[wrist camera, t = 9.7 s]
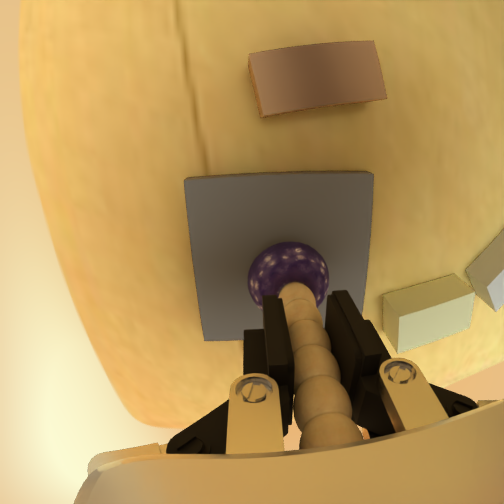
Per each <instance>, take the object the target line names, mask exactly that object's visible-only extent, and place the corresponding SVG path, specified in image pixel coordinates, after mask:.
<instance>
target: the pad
mask: <svg viewBox="0 0 504 504" xmlns="http://www.w3.org/2000/svg"><path fill="white" fill-rule="evenodd" d="M373 181H374V174H373V173H370V172H368V171H301V172H269V173H247V174H230V175H215V176H202V177H189V178H186V179H185V180H184V188H185V198H186V208H187V217H188V226H189V235H190V243H191V251H192V259H193V267H194V274H195V282H196V289H197V296H198V303H199V310H200V316H201V323H202V329H203V335H204V341H230V340H244V330H245V329H263V311H262V310H260V309H259V307H258V306H257V305H256V304H255V302H254V301H253V299H252V297H251V295H250V293H249V290H248V283H247V281H248V278H247V277H248V272H249V269H250V266H251V264H252V263H253V261H254V259H255V258H256V257H257V256H258V255H259V254H260V253H261V252H262V251H264V250H265V249H267V248H268V247H270V246H272V245H275V244H277V243H281V242H300V243H304V244H307V245H309V246H311V247H312V248H314V249H315V250H316V251H318V253H319V254H320V255H322V257H323V258H324V260H325V262H326V265H327V267H328V271H329V288H328V292H327V295H331V294H332V291H336V290H347V291H348V292H349V294H350V296H351V298H352V299H353V301H354V303H355V305H356V307H357V308H358V310H359V312H360V314H361V315H362V310H363V303H364V295H365V287H366V278H367V269H368V259H369V248H370V236H371V222H372V205H373ZM327 295H326V296H325V299H324V300H323V302H322V303H321V305H320V306H319V307H318V308H317V309H318V310H319V312H320V314H321V316H322V320H323V328H325V316H326V303H327Z"/></svg>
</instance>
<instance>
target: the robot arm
mask: <svg viewBox="0 0 504 504" xmlns="http://www.w3.org/2000/svg"><path fill="white" fill-rule="evenodd" d="M262 309H263V329H245V330H244V358H243V376H240V377H239V378H237V379H236V380H235V381H234V382H233V383H232V384H231V387H230V394H229V400H227V401H226V402H225V403H223V404H222V405H220V406H219V407H217V408H216V409H214V410H213V411H211V412H210V413H209V414H207V415H206V416H204V417H203V418H201V419H200V420H198V421H197V422H195V423H194V424H192V425H190V426H189V427H187V428H186V429H184V430H183V431H181V432H180V433H178V434H176V435H175V436H174V437H173V438H172V439H170V441H169V443H168V444H164V445H160V446H159V444H158V443H153V444H149V445H144V446H138V447H133V448H128V449H122V450H116V451H109V452H103V453H100V454H97V455H96V456H94V457H93V458H92V459H91V461H90V462H89V464H88V477H87V479H86V480H85V482H84V483H83V485H82V487H81V488H80V490H79V492H78V495H77V497H76V499H75V501H74V504H504V399H502V400H478V402H477V403H475V402H474V401H473V400H471V399H470V398H468V397H466V396H463V395H460V394H457V393H455V392H452V391H449V390H446V389H444V388H441V387H438V386H435V385H433V384H430V383H428V382H427V380H426V378H425V377H424V375H423V373H422V372H421V370H420V369H419V367H418V366H417V365H416V364H415V363H413V362H412V361H410V360H407V359H404V358H391V356H390V355H389V353H388V351H387V349H386V347H385V346H384V344H383V342H382V340H381V338H380V337H379V335H378V333H377V331H376V330H375V328H374V326H373V324H372V323H371V321H370V320H364V319H363V317H362V315H361V314H360V312H359V310H358V308H357V307H356V305H355V303H354V301H353V299H352V298H351V296H350V294H349V292H348V291H347V290H336V291H332V294H331V295H327V303H326V316H325V328H324V329H325V330H326V332H327V333H328V336H329V338H330V341H331V353H332V355H333V356H334V357H335V359H336V360H337V363H338V365H339V368H340V373H341V382H340V384H341V385H342V386H343V387H344V388H345V390H346V391H347V393H348V395H349V397H350V401H351V405H352V418H351V420H352V421H353V422H354V423H355V424H356V425H359V426H361V427H362V434H363V437H364V440H361V441H356V442H350V443H345V444H338V445H332V446H325V447H318V448H310V449H301V450H292V451H284V440H283V437H284V436H285V435H287V433H288V425H291V424H292V413H293V396H294V377H295V363H294V356H293V350H292V345H291V340H290V335H289V330H288V325H287V320H286V315H285V310H284V305H283V300H282V298H277V296H276V295H262Z"/></svg>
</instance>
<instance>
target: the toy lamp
mask: <svg viewBox="0 0 504 504" xmlns="http://www.w3.org/2000/svg"><path fill="white" fill-rule="evenodd" d="M247 278H248V281H247V283H248V290H249V293H250V295H251V297H252V299H253V301H254V302H255V304H256V305H257V306H258V307H259V309H260V310H262V311H263V309H262V295H276V296H277V298H282V300H283V305H284V310H285V315H286V320H287V325H288V330H289V335H290V340H291V345H292V350H293V356H294V363H295V377H294V395H295V397H294V403H293V411H294V418H295V421H296V423H297V426H298V428H299V429H300V431H301V432H302V435H301V438H300V444H299V450H301V449H310V448H318V447H325V446H332V445H338V444H345V443H350V442H356V441H361V440H364V439H363V436H362V433H361V431H360V430H359V428H358V427H357V425H356V424H355V423H354V422H353V421H352V420H351V418H352V405H351V401H350V397H349V395H348V393H347V391H346V390H345V388H344V387H343V386H342V385H341V384H340V382H341V373H340V368H339V365H338V363H337V360H336V359H335V357H334V356H333V355H332V353H331V341H330V338H329V336H328V333H327V332H326V330H325V329H324V328H323V320H322V316H321V314H320V312H319V310H318V309H317V308H318V307H319V306H320V305H321V303H322V302H323V300H324V299H325V296H326V295H327V292H328V288H329V271H328V267H327V265H326V262H325V260H324V258H323V257H322V255H320V254H319V253H318V251H316V250H315V249H314V248H312V247H311V246H309V245H307V244H304V243H300V242H281V243H277V244H275V245H272V246H270V247H268V248H267V249H265V250H264V251H262V252H261V253H260V254H259V255H258V256H257V257H256V258H255V259H254V261H253V263H252V264H251V266H250V269H249V272H248V277H247Z"/></svg>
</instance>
